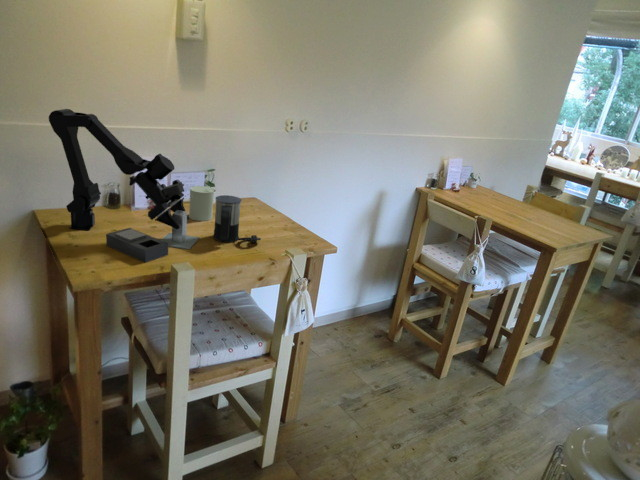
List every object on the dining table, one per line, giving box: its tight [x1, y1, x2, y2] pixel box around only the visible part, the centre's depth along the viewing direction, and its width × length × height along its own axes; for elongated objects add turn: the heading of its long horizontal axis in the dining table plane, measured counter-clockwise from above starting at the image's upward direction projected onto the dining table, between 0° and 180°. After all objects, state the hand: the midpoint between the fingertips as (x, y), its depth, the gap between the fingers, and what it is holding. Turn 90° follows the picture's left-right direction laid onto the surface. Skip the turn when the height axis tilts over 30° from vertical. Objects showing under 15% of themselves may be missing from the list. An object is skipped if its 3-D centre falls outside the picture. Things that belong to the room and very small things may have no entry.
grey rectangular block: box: [171, 210, 188, 243], centre depth 165 cm, size 4×4×10 cm
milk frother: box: [212, 194, 262, 243], centre depth 173 cm, size 14×16×15 cm
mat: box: [160, 232, 200, 250], centre depth 167 cm, size 11×11×1 cm
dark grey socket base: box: [105, 227, 169, 264], centre depth 155 cm, size 18×9×5 cm, turn 59°
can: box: [188, 185, 215, 222], centre depth 191 cm, size 9×9×12 cm
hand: (183, 224), depth 165 cm, fingers open, 9 cm apart
